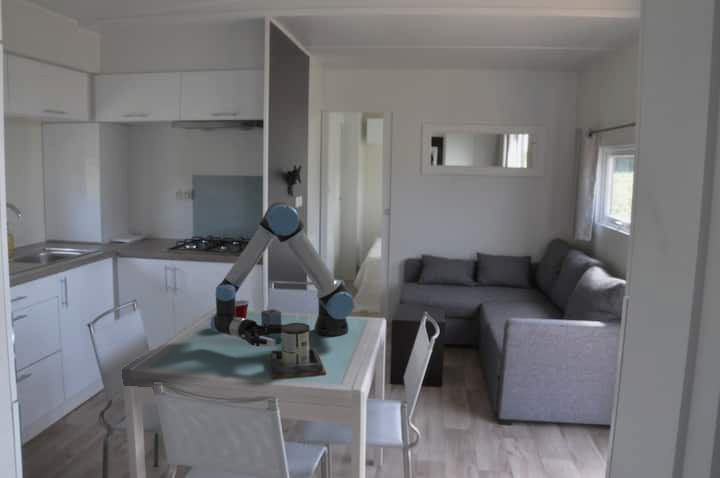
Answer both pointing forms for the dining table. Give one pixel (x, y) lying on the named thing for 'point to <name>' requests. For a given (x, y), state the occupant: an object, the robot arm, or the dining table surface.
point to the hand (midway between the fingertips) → (287, 338)
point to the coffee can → (295, 344)
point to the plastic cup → (241, 308)
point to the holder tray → (295, 366)
